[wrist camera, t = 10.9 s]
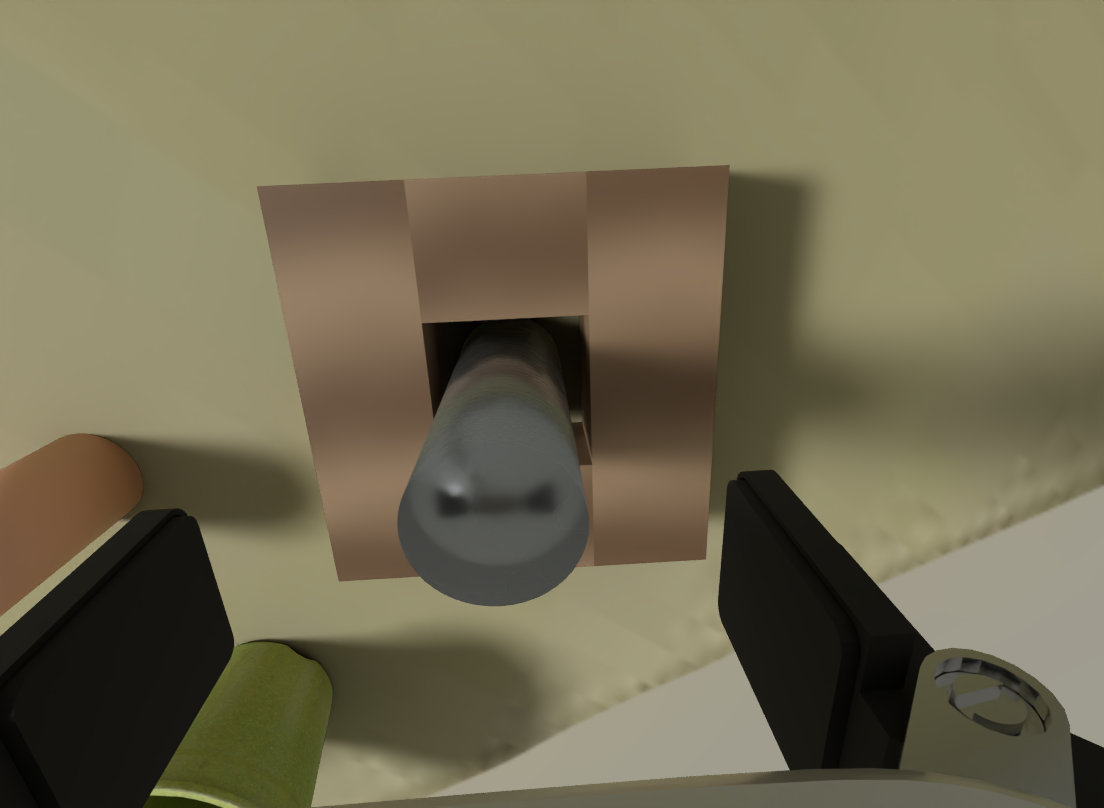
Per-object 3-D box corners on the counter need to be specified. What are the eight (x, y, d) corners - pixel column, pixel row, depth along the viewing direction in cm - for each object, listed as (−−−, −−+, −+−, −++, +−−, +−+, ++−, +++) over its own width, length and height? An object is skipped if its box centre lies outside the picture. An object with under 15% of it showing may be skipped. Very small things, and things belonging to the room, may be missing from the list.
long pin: (455, 317, 23) (383, 446, 11) (557, 312, 23) (587, 435, 11) (465, 412, 24) (410, 611, 13) (561, 408, 24) (591, 601, 13)
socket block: (306, 187, 21) (256, 186, 17) (693, 169, 21) (729, 165, 17) (366, 524, 26) (338, 581, 22) (680, 505, 26) (705, 559, 22)
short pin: (27, 436, 24) (-165, 531, 17) (127, 431, 24) (-27, 523, 17) (61, 521, 25) (-105, 639, 18) (155, 515, 25) (22, 631, 19)
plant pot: (342, 597, 27) (262, 774, 19) (387, 743, 30) (336, 946, 22) (144, 623, 27) (-20, 810, 19) (211, 766, 30) (96, 977, 22)
